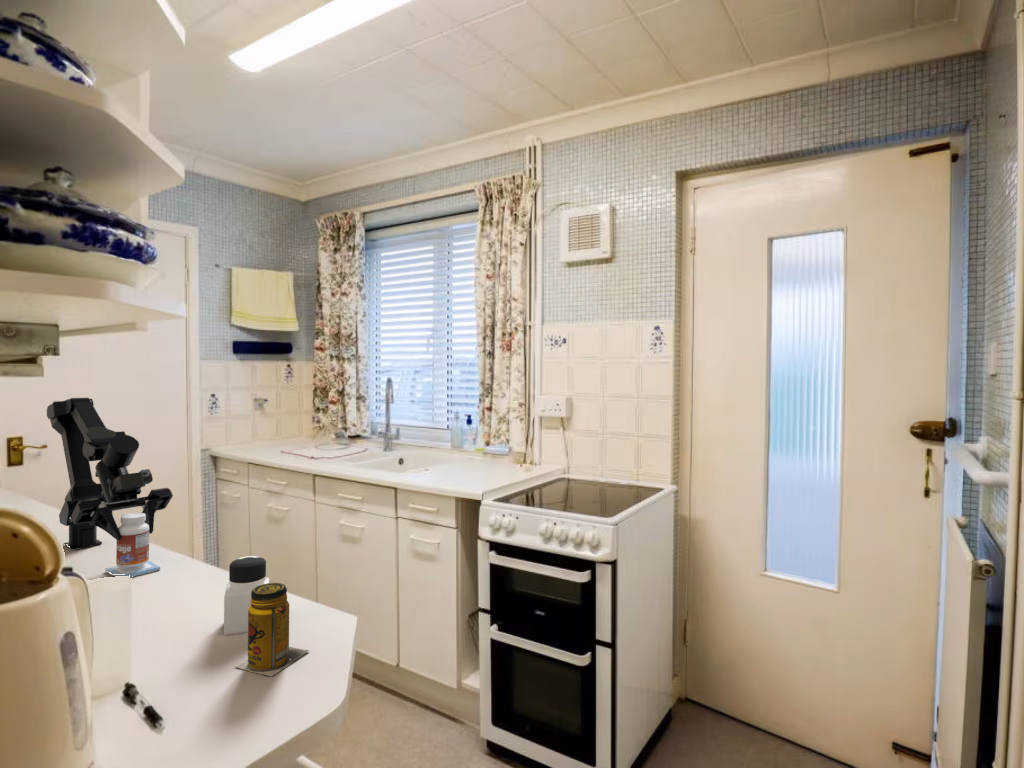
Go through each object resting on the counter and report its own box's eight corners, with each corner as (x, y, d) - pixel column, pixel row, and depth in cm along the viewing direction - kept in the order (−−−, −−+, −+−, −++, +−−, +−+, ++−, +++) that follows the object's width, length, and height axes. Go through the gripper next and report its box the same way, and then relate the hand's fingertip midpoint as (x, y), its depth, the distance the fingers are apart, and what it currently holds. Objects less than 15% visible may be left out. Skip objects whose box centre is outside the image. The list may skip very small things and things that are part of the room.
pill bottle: (109, 565, 126) (109, 516, 125) (136, 557, 131) (136, 510, 131) (128, 570, 123) (128, 520, 123) (155, 561, 129) (155, 513, 129)
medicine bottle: (268, 630, 100) (269, 563, 100) (223, 636, 98) (224, 568, 97) (268, 613, 107) (269, 551, 107) (226, 619, 104) (227, 555, 104)
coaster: (105, 572, 126) (105, 568, 126) (145, 562, 133) (145, 558, 133) (120, 580, 122) (120, 576, 122) (160, 570, 128) (160, 566, 128)
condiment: (234, 668, 88) (235, 592, 87) (275, 643, 96) (276, 574, 95) (271, 678, 85) (272, 599, 85) (309, 652, 93) (310, 580, 93)
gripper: (77, 464, 121) (97, 524, 115) (169, 454, 136) (191, 507, 131) (63, 494, 126) (82, 554, 120) (154, 482, 141) (174, 534, 135)
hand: (135, 535), depth 126 cm, fingers closed on pill bottle, 6 cm apart
